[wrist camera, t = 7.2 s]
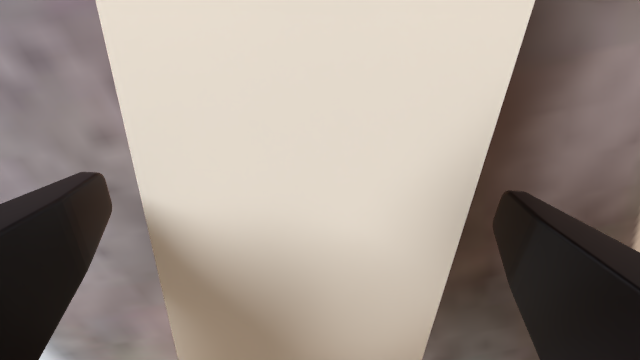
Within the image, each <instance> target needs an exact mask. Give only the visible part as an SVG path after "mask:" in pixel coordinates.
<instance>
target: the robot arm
mask: <svg viewBox="0 0 640 360" xmlns="http://www.w3.org/2000/svg"><path fill="white" fill-rule="evenodd" d="M111 212H112V202H111V199H110V195H109V191H108V188H107V184H106V181H105V178H104V176H103V175H102V174H100V173H96V172H80V173H77V174H75V175H72V176H70V177H67V178H65V179H62V180H60V181H57V182H55V183H52V184H50V185H47V186H45V187H42V188H40V189H37V190H35V191H32V192H30V193H27V194H25V195H22V196H20V197H17V198H15V199H12V200H10V201H7V202H5V203H2V204H0V360H39V358H40V356H41V354H42V353H43V351H44V349H45V347H46V345H47V344H48V342H49V340H50V338H51V336H52V335H53V333H54V331H55V329H56V327H57V326H58V324H59V322H60V320H61V318H62V316H63V315H64V313H65V311H66V309H67V307H68V306H69V304H70V302H71V300H72V298H73V297H74V295H75V293H76V291H77V289H78V287H79V286H80V284H81V282H82V280H83V278H84V276H85V274H86V272H87V271H88V268H89V266H90V264H91V262H92V259H93V257H94V254H95V252H96V250H97V247H98V245H99V242H100V240H101V237H102V235H103V232H104V230H105V228H106V225H107V223H108V220H109V218H110V215H111ZM493 230H494V234H495V238H496V241H497V245H498V248H499V252H500V255H501V259H502V262H503V266H504V269H505V273H506V276H507V279H508V282H509V285H510V288H511V291H512V293H513V296H514V298H515V301H516V303H517V306H518V308H519V310H520V313H521V315H522V318H523V320H524V322H525V325H526V327H527V330H528V332H529V334H530V337H531V339H532V341H533V344H534V346H535V349H536V351H537V353H538V356H539V358H540V360H640V253H639V252H637V251H636V250H634V249H632V248H630V247H628V246H626V245H624V244H622V243H621V242H619V241H617V240H615V239H613V238H611V237H609V236H607V235H605V234H604V233H602V232H600V231H598V230H596V229H594V228H592V227H590V226H588V225H587V224H585V223H583V222H581V221H579V220H577V219H575V218H573V217H572V216H570V215H568V214H566V213H564V212H562V211H560V210H558V209H556V208H555V207H553V206H551V205H549V204H547V203H545V202H543V201H541V200H539V199H538V198H536V197H534V196H532V195H530V194H528V193H526V192H523V191H506V192H505V193H504V194H503V195H502V197H501V200H500V203H499V206H498V208H497V211H496V214H495V217H494V220H493Z"/></svg>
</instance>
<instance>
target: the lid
mask: <svg viewBox="0 0 640 360" xmlns="http://www.w3.org/2000/svg"><path fill="white" fill-rule="evenodd" d="M534 2H535V0H96V4H97V9H98V13H99V17H100V22H101V26H102V31H103V35H104V39H105V44H106V48H107V52H108V57H109V61H110V65H111V70H112V74H113V78H114V83H115V87H116V91H117V96H118V100H119V104H120V109H121V113H122V118H123V122H124V126H125V131H126V135H127V139H128V144H129V148H130V152H131V157H132V161H133V165H134V170H135V174H136V178H137V183H138V187H139V192H140V196H141V200H142V205H143V209H144V213H145V218H146V222H147V226H148V231H149V235H150V239H151V244H152V248H153V252H154V257H155V261H156V266H157V270H158V274H159V279H160V283H161V287H162V292H163V296H164V300H165V305H166V309H167V313H168V318H169V322H170V326H171V331H172V335H173V340H174V344H175V348H176V353H177V357H178V360H422V357H423V354H424V351H425V348H426V345H427V341H428V338H429V335H430V332H431V329H432V326H433V322H434V319H435V316H436V313H437V310H438V307H439V303H440V300H441V297H442V294H443V291H444V288H445V284H446V281H447V278H448V275H449V272H450V269H451V265H452V262H453V259H454V256H455V253H456V250H457V246H458V243H459V240H460V237H461V234H462V231H463V227H464V224H465V221H466V218H467V215H468V212H469V208H470V205H471V202H472V199H473V196H474V193H475V189H476V186H477V183H478V180H479V177H480V174H481V170H482V167H483V164H484V161H485V158H486V155H487V151H488V148H489V145H490V142H491V139H492V135H493V132H494V129H495V126H496V123H497V120H498V116H499V113H500V110H501V107H502V104H503V101H504V97H505V94H506V91H507V88H508V85H509V82H510V78H511V75H512V72H513V69H514V66H515V63H516V59H517V56H518V53H519V50H520V47H521V44H522V40H523V37H524V34H525V31H526V28H527V25H528V21H529V18H530V15H531V12H532V9H533V6H534Z"/></svg>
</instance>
